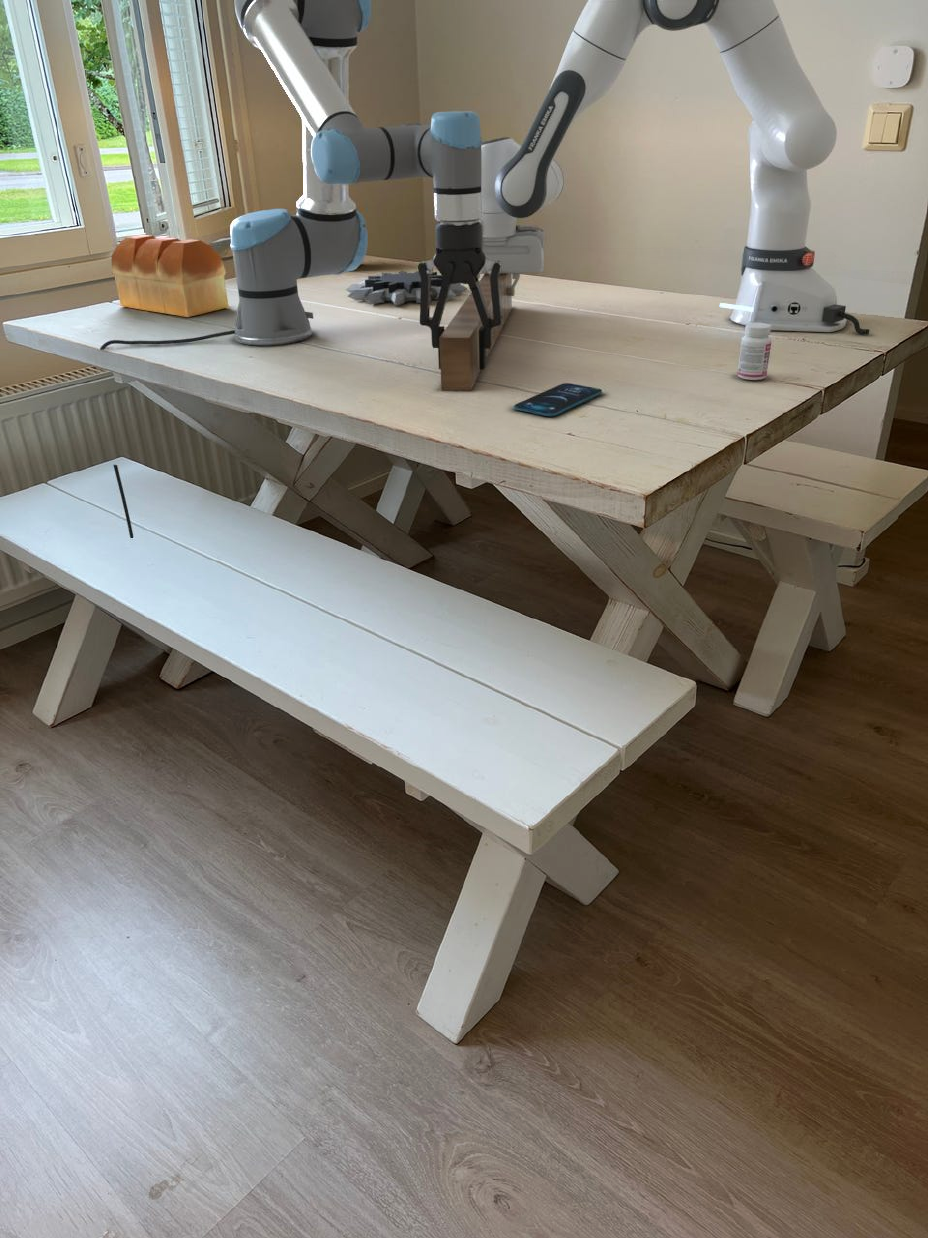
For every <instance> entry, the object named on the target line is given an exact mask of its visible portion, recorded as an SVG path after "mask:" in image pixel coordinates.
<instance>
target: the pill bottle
mask: <svg viewBox="0 0 928 1238" xmlns="http://www.w3.org/2000/svg"><path fill="white" fill-rule="evenodd" d="M771 333H772V330H771V325H770V324H766V323H748V324H746V325H745V328H744V335H743V337H741V340H740V341H741V342H740V348H739V349H740V350H739V356H738V357H739V358H738V367H737V377H738V378H740V379H742V380H748V381H759V380H764V379H766V378H767V377H768V376H767V375H768V369H769V362H770V355H771V349H772V338H771V337H770V335H771Z"/></svg>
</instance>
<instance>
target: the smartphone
mask: <svg viewBox="0 0 928 1238" xmlns="http://www.w3.org/2000/svg"><path fill="white" fill-rule="evenodd" d="M602 393H603V389H601V388H597V387H592V386H586V385H582V384H576V383H570V382H565V383H560V384H557V385H556V386H553V387H551V388H549V389H547V390H544V391H542V392H541V393H538V394H535V395H534V396H531V397H529V398H527V399H524V400H523V401H520V402H518V403H515V404H514V405H513V409H514V410H517V411H520V412H525V413H530V414H535V415H540V416H545V417H556V416H558V415H560V414H562V413H565V412H566V411H568V410H570V409H572V408H574V407H576V406H578V405H581V404H582V403H585V402H587V401H589V400H591V399H593V398H595V397H597V396H599V395H601V394H602Z"/></svg>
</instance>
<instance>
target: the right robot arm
mask: <svg viewBox="0 0 928 1238" xmlns="http://www.w3.org/2000/svg"><path fill="white" fill-rule="evenodd" d="M778 10H779V9H778V8H777V5H776V3H775V1H774V0H587V2H586V3H585V5H584V8H583V9H582V11H581V13H580V14H579V17H578V19H577V21H576V23H575V26H574V27H573V30H572V32H571V34H570V36H569V39H568V42H567V43H566V46H565V48H564V50H563V51H564V52H563V53H562V57H561V59H560V62H559V64H558V68H557V70H556V72H555V75H554V77H553V80H552V82H551V84H550V87H549V90H548V92H547V94H546V96H545V98H544V100H543V102H542V104H541V106H540V108H539V110H538V112H537V114H536V116H535V118H534V120H533V122H532V124H531V126H530V128H529V130H528V132H527V134H526V136H525V138H524V140H523V143H522V144H521V145H520V144H518V142H516V141H515V140H514V139H513V138H512V137H509V136H502V137H498V138H493V139H489V140H485V141H482V144H481V145H482V186H481V191H482V218H481V219H480V220H478V222H480V223H481V224H482V237H483V253H484V255H485V257H486V259H489V260H492V261H501V263H502V266H501V270H500V274H512V280H514V281H513V282H512V286H508V287H507V291H508V293H507V295H508V296H512V297H514V296H515V294H516V286H517V284H518V283H519V280H520V278H521V274H523V275H524V274H525V275H526V274H527V275H528V274H529V275H530V274H531V275H532V274H533V275H534V274H536V275H537V274H541V273H542V272H543V270H544V269H545V257H544V256H545V255H544V247H545V245H546V242H547V241H546V240H547V239H546V238H547V237H546V236H547V235H546V231H545V230H544V229H543V228H542V227H539V225H535V224H533V225H517V223H518V222H517V219H525V218H528V217H531V216H533V215H534V214H535V213H537V212H538V211H539V210H542V209H544V208H546V207H548V206H550V205H552V204H553V203H554V202H555V201H557V199H558V198H559V197H560V195H561V193H562V192H563V188H564V182H565V181H564V174H563V171H562V168H561V167H560V164H559V163H558V162H557V161H555V157H556V155H557V153H558V151H559V149H560V147H561V145H562V143H563V141H564V139H565V137H566V135H567V134H568V132H569V130H570V128H571V126H572V125H573V123H574V122H575V120H577V118H579V116H580V115H581V114H582V113H583V112H584V111H586V110H587V109H588V108H590V106H592V105H593V104H595V103H596V102H597V101H599V100H601V98H603V97H604V96H605V95H606V94H607V93H608V92H609V90H610V89H611V87H612V86H613V84H614V83H615V82H616V80H617V79H618V77H619V75H620V73H621V72H622V70H623V68H624V66H625V64H626V62H627V59H628V57H629V55H630V54H631V51H632V49H633V47H634V45H635V43H636V41H637V39H638V38H639V37H640V35H641V33H642V32H643V31H644V30H645V29H646V28H648V27H650V26H654V25H655V26H657V27H659V28H660V29H662V30H665V31H670V32H674V31H683V30H686V29H689V28H692V27H695V26H699V25H702V24H704V25H705V26H706V27H707V28H708V30H709V31H710V33H711V36H712V38H713V40H714V42H715V44H716V47H717V50H718V51H719V54H720V57H721V59H722V62H723V65H724V67H725V69H726V72H727V74H728V76H729V79H730V81H731V85H732V86H733V88H734V91H735V93H736V95H737V97H738V98H739V99H740V100H741V101H742V103H743V105H744V106H745V107H746V109H747V111H748V112H749V114H750V116H751V117H752V119H753V120H752V121H751V123H750V125H749V127H748V131H747V146H748V148H749V149H748V150H749V174H750V175H749V176H750V195H751V197H750V211H749V212H750V213H749V223H748V230H747V239H746V245H745V246H744V247H743V252H742V257H741V267H740V271H741V272H740V274H741V275H740V276H741V280H740V285H739V289H738V293H737V296H736V300H735V304H729V303H725V302H724V303H723V302H720V303H719V307H720V308H724V309H732V311H731V314H730V316H729V319H730V320H731V321H732V322H734V323H736V324H738V325H743V326H746V324H748V323H766V324H770V325H771V331H784V332H785V331H790V332H817V333H833V332H837V331H840V330H842V329H844V328H845V327H846V325H847V320H848V321H850V322H851V323H852V324H853V326H854V331H855V332H856V333H857V334H859V335H869V334H870V328H861V326H860V321H859V320H858V318H857V317H855V316H854V315H851V314H849V313H847V312H846V308H847V306H846V305H842V304H838V297H837V292H836V290H835V288H834V287H833V285H832V284H830V283H829V282H828V281H827V280H826V279H825V278H824V277H822V275H820V274H819V273H818V272H817V271H816V270H815V269H814V268H813V267H814V262H815V252H816V251H815V250H814V249H812V250H811V249H810V248H809V247H807V246H806V241H807V235H808V228H809V221H810V213H811V208H812V204H811V203H812V202H811V197H810V193H809V187H808V186H809V185H808V170H811V169H813V168H815V167H817V166H819V165H821V164H822V163H824V162H825V161H826V160H827V159H828V158H829V157H830V156H831V154H832V152H833V151H834V148H835V145H836V142H837V135H838V131H837V126H836V123H835V121H834V119H833V117H832V116H831V115H830V114H829V113H828V111H827V110H826V109H825V107H824V105H823V104H822V101H821V99H820V98H819V96H818V94H817V92H816V90H815V88H814V87H813V85H812V83H811V82H810V80H809V78H808V77H807V75H806V73H805V72H804V70H803V68H802V66H801V65H800V63H799V60H798V59H797V55H796V54H795V51H794V49H793V46H792V44H791V41H790V39H789V36H788V34H787V31H786V28H785V26H784V24H783V21H782V18H781V15H780V13H779V11H778ZM484 274H488V273H487V268H486V267H485V266H483V268H482V269H481V271H480V272H479V274H478V275H477V277H478V280H479V279H481V275H484Z"/></svg>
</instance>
